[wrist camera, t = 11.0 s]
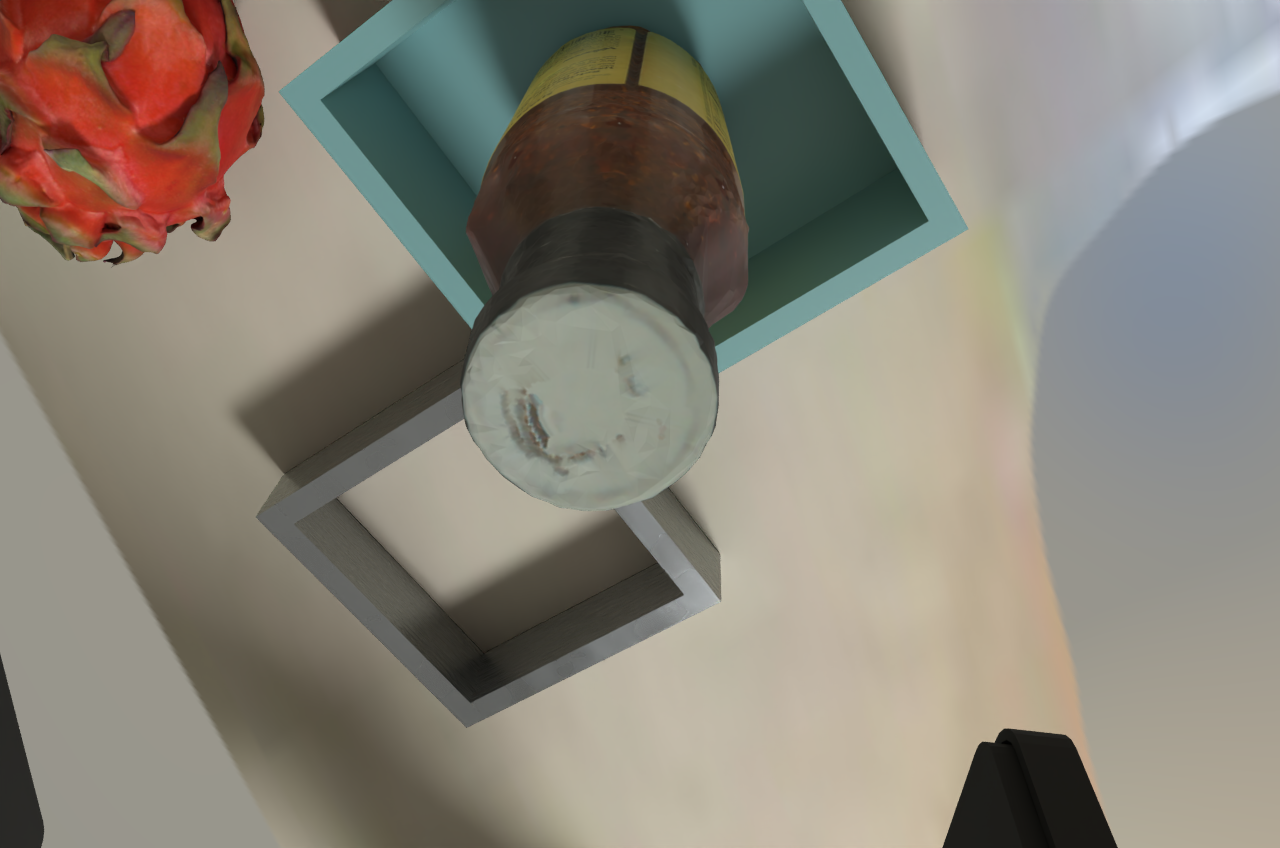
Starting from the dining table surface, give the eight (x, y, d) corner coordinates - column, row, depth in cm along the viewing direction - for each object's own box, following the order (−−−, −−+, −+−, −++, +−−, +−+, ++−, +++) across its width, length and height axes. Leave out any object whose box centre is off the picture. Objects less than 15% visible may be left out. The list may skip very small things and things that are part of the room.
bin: (928, 169, 34) (968, 229, 29) (592, 372, 39) (575, 456, 33) (702, -233, 29) (702, -249, 24) (345, 52, 34) (278, 91, 28)
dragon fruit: (170, 229, 38) (187, -131, 34) (312, 301, 34) (352, -100, 30) (-97, 235, 32) (-116, -210, 28) (39, 326, 27) (40, -186, 23)
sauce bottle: (514, 193, 35) (325, 526, 17) (548, -5, 32) (360, 155, 14) (707, 237, 35) (711, 608, 18) (757, 46, 32) (823, 263, 15)
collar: (720, 554, 42) (721, 601, 40) (480, 677, 46) (466, 727, 44) (533, 314, 38) (520, 350, 35) (283, 474, 42) (255, 516, 39)
